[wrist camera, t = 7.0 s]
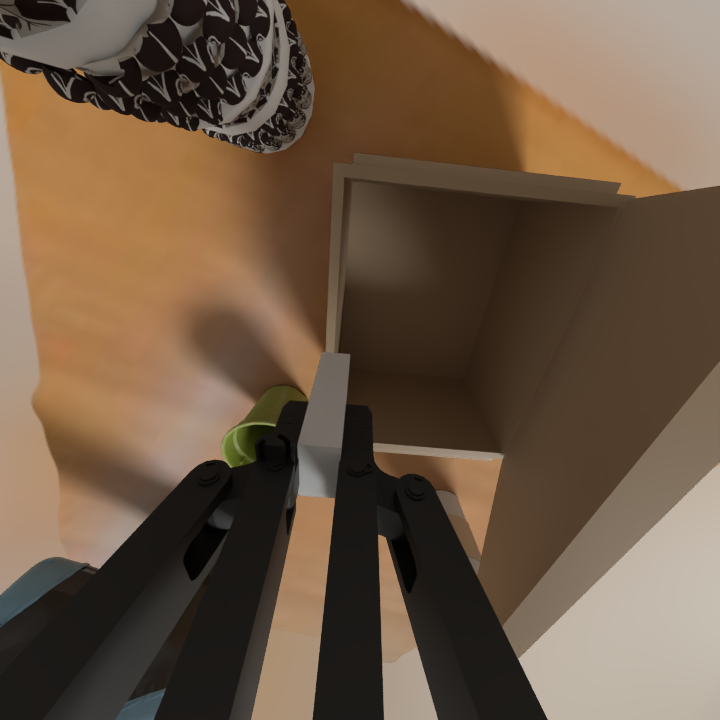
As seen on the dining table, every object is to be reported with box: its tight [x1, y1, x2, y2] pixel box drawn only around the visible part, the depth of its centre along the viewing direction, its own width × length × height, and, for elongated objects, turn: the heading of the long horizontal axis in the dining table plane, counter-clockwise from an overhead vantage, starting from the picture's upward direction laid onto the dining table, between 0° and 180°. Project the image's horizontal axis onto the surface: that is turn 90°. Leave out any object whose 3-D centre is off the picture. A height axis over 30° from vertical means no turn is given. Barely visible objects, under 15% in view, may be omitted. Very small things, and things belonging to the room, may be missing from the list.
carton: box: [326, 153, 636, 461], centre depth 26 cm, size 16×21×12 cm
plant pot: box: [221, 385, 308, 468], centre depth 35 cm, size 9×9×9 cm
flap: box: [477, 186, 720, 658], centre depth 14 cm, size 16×20×1 cm
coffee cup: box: [435, 490, 481, 575], centre depth 42 cm, size 9×9×15 cm
